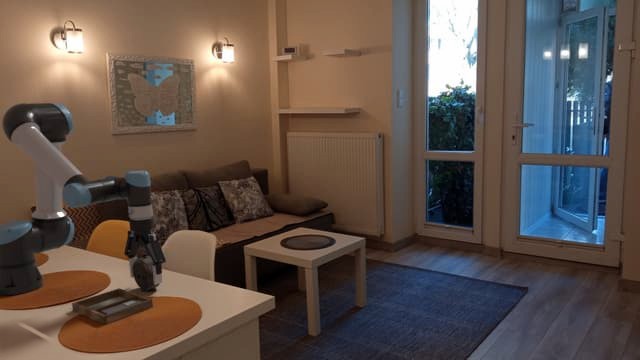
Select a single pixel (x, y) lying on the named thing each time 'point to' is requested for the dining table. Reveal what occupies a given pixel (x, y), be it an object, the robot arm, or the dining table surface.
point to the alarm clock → (144, 272)
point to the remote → (120, 306)
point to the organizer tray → (111, 305)
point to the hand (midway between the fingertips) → (146, 279)
